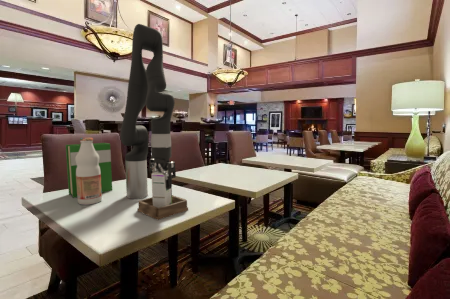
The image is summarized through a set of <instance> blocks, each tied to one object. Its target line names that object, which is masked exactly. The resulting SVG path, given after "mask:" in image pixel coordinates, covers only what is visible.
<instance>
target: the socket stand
mask: <svg viewBox="0 0 450 299" xmlns="http://www.w3.org/2000/svg"><path fill="white" fill-rule="evenodd" d="M137 203H138V204H137V205H138V208H137V212H138V213H139V212H140V213H142V214H143V215H146V216H148V217H150V218H152V219H155V220H157V221H159V220H162V219H165V218H169V217H171V216H174V215H177V214H180V213H183V212H186V211H189V207H188V200H187V198H186V199H185V198H183V197H179V196H176V195H174V194H172V204H170V205H167V206H163V207H160V208H157V207H155V206H153V198H152V197H148V198H147V197H146V198H142V199H139V200H138V202H137Z"/></svg>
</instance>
